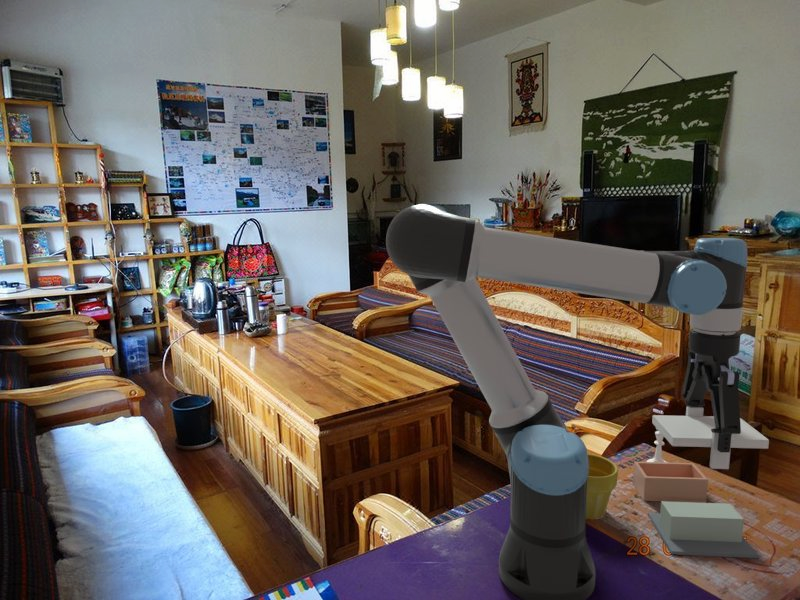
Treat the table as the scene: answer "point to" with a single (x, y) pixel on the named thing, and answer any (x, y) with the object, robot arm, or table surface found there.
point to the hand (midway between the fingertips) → (705, 453)
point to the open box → (670, 482)
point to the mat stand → (702, 529)
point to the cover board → (704, 432)
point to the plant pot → (599, 485)
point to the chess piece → (658, 448)
